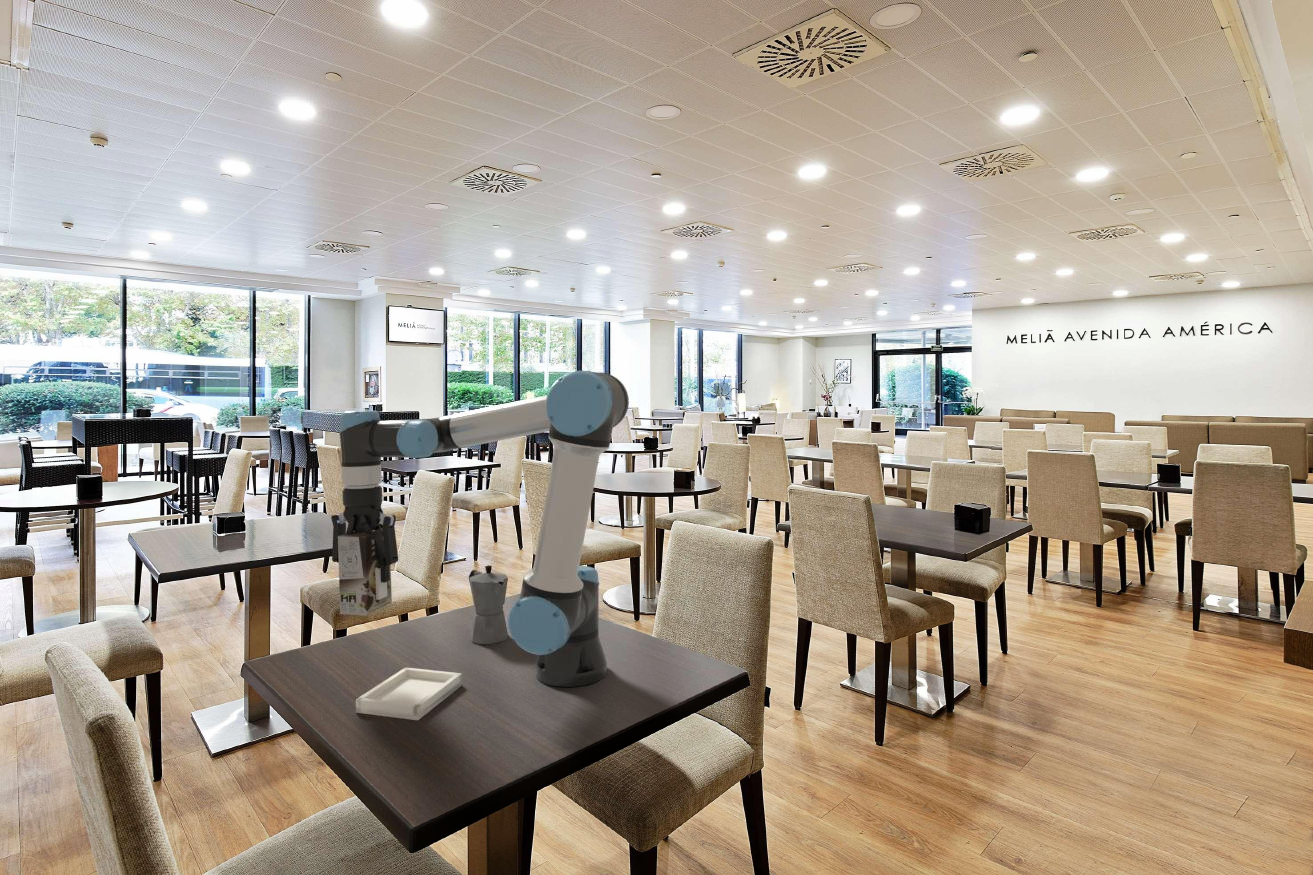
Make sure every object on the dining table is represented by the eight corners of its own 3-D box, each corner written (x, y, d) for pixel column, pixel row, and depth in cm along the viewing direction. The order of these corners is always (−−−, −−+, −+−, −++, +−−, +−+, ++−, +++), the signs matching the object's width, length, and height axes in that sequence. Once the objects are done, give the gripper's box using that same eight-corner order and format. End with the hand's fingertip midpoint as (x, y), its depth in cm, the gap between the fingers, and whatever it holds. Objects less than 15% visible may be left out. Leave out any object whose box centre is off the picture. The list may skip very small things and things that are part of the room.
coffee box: (367, 616, 141) (364, 536, 140) (339, 614, 142) (335, 535, 141) (393, 603, 150) (390, 527, 149) (366, 601, 151) (363, 527, 150)
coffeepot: (520, 640, 171) (520, 567, 170) (486, 650, 164) (485, 574, 163) (487, 625, 182) (486, 556, 181) (454, 633, 175) (452, 562, 174)
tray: (461, 685, 144) (461, 673, 144) (417, 720, 129) (417, 707, 129) (405, 679, 148) (405, 667, 147) (355, 712, 132) (355, 699, 132)
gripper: (415, 484, 146) (418, 594, 147) (333, 482, 150) (338, 589, 152) (393, 489, 138) (397, 604, 140) (308, 487, 143) (313, 599, 144)
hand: (366, 596), depth 146 cm, fingers closed on coffee box, 6 cm apart
